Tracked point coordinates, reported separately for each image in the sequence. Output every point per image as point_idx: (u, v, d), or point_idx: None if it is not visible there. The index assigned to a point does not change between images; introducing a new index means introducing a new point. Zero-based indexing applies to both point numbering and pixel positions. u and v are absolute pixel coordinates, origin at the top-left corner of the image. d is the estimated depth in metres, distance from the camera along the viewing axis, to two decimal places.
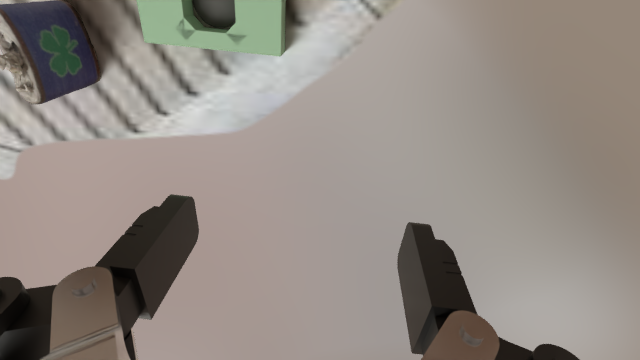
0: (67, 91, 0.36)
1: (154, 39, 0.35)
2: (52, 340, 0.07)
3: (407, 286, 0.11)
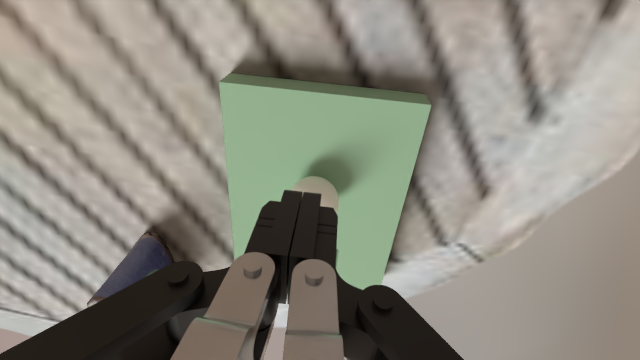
0: None
1: None
2: (211, 305, 0.08)
3: None
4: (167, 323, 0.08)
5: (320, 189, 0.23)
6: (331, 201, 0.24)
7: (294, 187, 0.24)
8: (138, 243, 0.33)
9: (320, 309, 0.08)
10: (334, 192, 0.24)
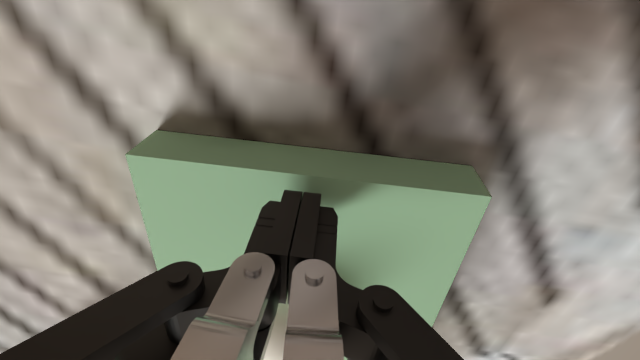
0: None
1: None
2: (211, 305, 0.08)
3: None
4: (167, 324, 0.08)
5: None
6: None
7: None
8: None
9: (320, 309, 0.08)
10: None
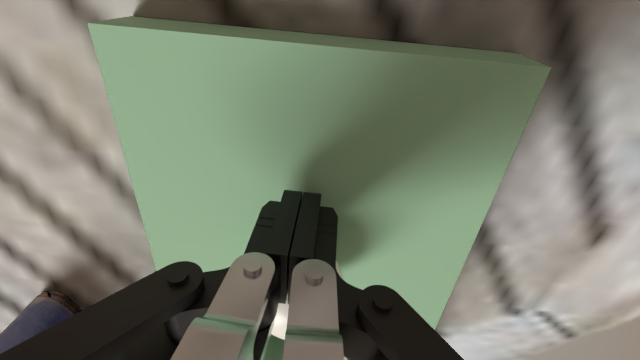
0: None
1: None
2: (211, 305, 0.08)
3: None
4: (168, 324, 0.08)
5: None
6: None
7: None
8: (24, 312, 0.21)
9: (320, 309, 0.08)
10: None
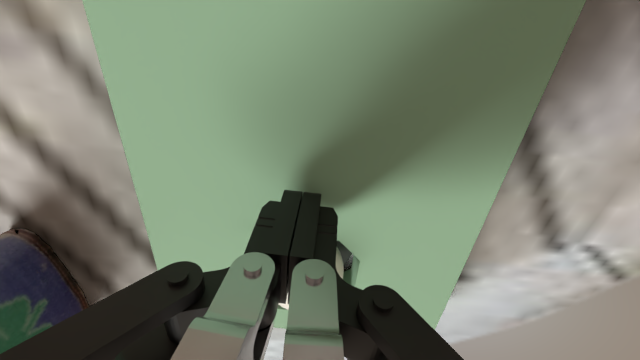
0: None
1: None
2: (211, 305, 0.08)
3: None
4: (167, 324, 0.08)
5: None
6: None
7: None
8: None
9: (320, 309, 0.08)
10: None
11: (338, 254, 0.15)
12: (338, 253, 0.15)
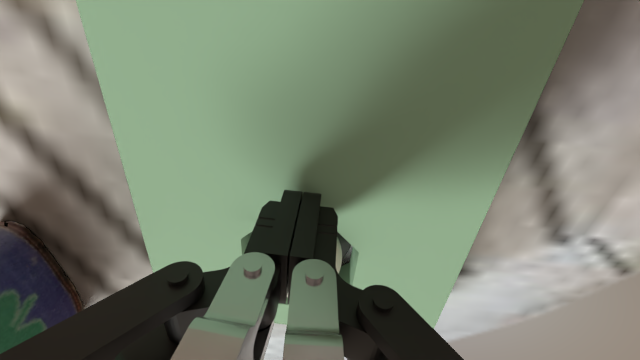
0: None
1: None
2: (211, 305, 0.08)
3: None
4: (167, 324, 0.08)
5: None
6: None
7: None
8: None
9: (320, 309, 0.08)
10: None
11: None
12: None
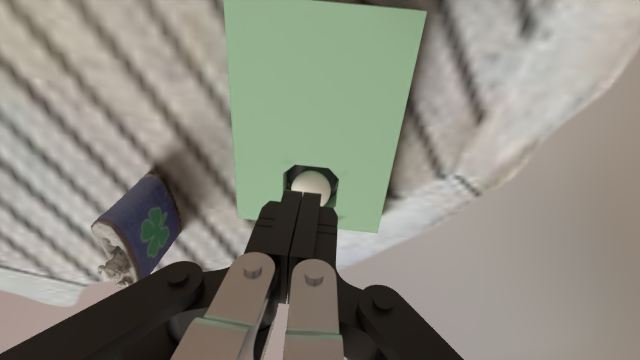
0: (156, 264, 0.35)
1: (248, 216, 0.34)
2: (211, 305, 0.08)
3: None
4: (167, 323, 0.08)
5: None
6: None
7: None
8: (141, 180, 0.34)
9: (319, 309, 0.08)
10: None
11: (327, 185, 0.31)
12: (327, 184, 0.31)
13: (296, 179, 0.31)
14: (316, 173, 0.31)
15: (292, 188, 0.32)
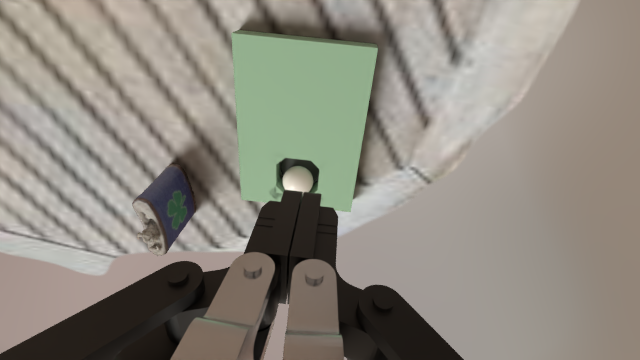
0: (177, 235, 0.45)
1: (249, 198, 0.44)
2: (211, 305, 0.08)
3: None
4: (167, 323, 0.08)
5: None
6: None
7: None
8: (166, 169, 0.43)
9: (319, 309, 0.08)
10: None
11: (310, 178, 0.41)
12: (310, 178, 0.41)
13: (286, 174, 0.41)
14: (301, 170, 0.41)
15: (283, 181, 0.41)
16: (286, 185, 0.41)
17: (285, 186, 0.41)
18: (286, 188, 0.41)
